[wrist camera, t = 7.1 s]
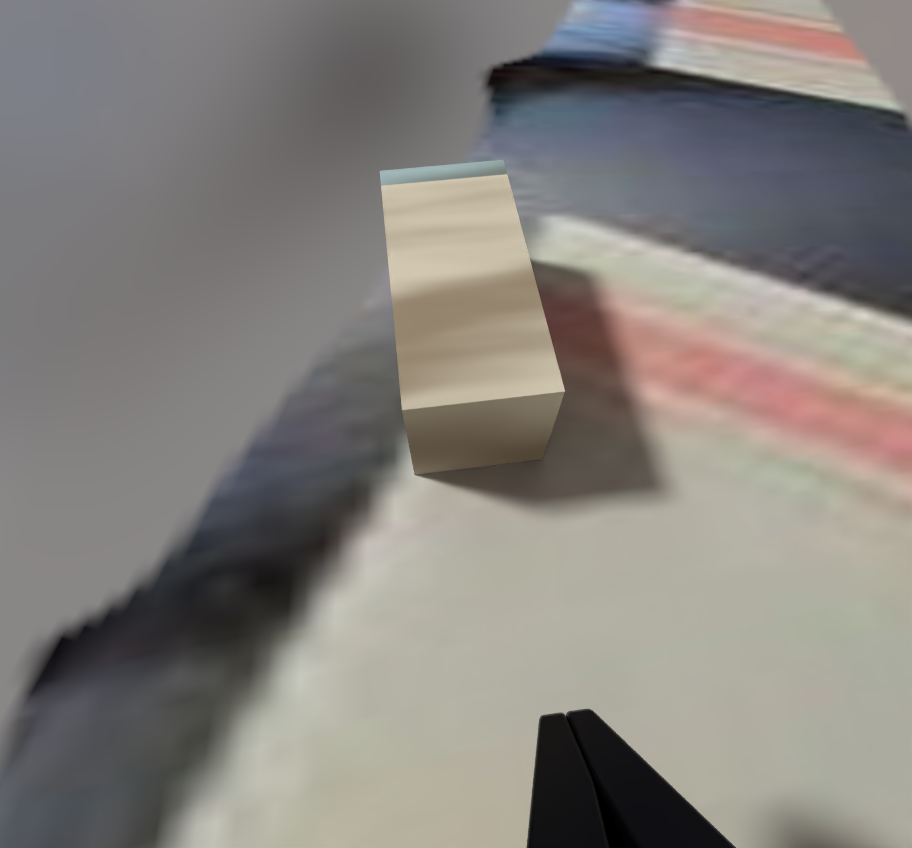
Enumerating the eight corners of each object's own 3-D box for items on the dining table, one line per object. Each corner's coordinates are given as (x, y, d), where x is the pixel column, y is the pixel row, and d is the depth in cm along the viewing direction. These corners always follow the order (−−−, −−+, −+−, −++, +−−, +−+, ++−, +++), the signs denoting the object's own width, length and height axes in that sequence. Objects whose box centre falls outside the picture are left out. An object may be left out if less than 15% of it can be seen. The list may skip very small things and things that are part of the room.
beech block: (565, 391, 15) (503, 159, 19) (402, 409, 14) (379, 170, 19) (542, 459, 19) (495, 253, 23) (414, 474, 18) (393, 263, 23)
